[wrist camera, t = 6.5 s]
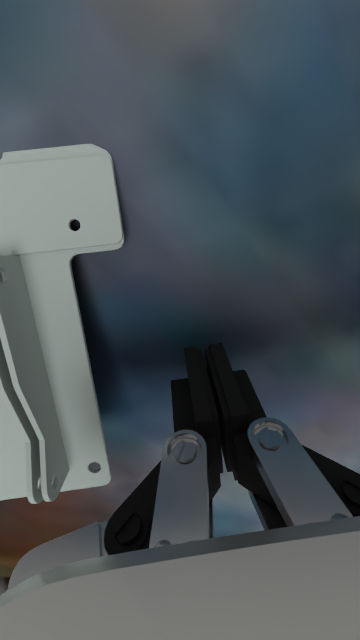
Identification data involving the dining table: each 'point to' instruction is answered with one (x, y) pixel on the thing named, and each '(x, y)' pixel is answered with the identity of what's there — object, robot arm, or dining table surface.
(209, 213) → the dining table surface
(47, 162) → the metal bracket
